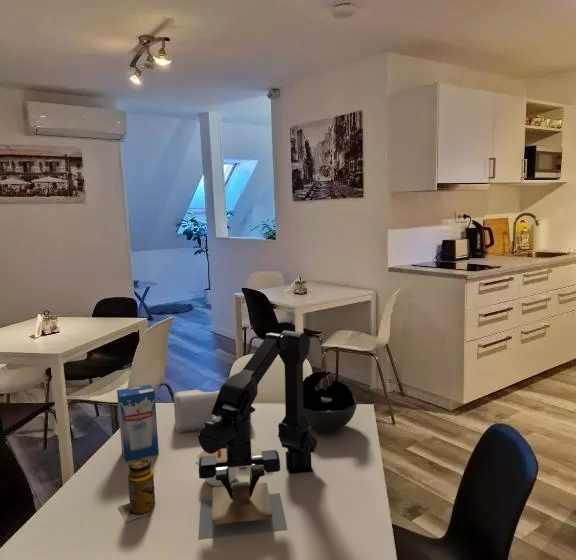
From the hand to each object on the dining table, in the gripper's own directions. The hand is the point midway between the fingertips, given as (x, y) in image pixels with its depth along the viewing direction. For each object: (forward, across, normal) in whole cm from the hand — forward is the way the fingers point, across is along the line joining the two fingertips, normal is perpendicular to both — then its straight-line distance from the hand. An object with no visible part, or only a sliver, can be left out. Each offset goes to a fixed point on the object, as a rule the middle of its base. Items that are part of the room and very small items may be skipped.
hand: (240, 497), depth 122 cm
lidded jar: (+5, +5, -16) cm, 18 cm away
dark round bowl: (+5, -30, -43) cm, 52 cm away
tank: (+6, +7, -52) cm, 52 cm away
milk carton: (+5, +29, -37) cm, 47 cm away
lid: (+2, 0, 0) cm, 2 cm away
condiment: (+5, +25, -8) cm, 27 cm away
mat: (+5, 0, 0) cm, 5 cm away
